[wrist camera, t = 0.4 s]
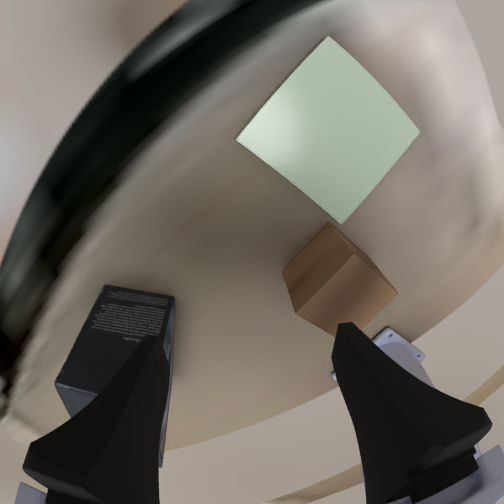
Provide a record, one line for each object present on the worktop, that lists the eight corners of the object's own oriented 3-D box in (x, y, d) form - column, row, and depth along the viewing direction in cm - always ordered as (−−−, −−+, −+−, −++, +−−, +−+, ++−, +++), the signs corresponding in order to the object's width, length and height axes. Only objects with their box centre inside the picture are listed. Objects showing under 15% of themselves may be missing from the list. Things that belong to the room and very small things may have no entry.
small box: (175, 378, 27) (165, 471, 17) (114, 367, 26) (89, 454, 16) (179, 295, 22) (157, 411, 13) (102, 282, 21) (47, 383, 12)
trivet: (413, 130, 17) (420, 131, 16) (337, 220, 20) (341, 224, 19) (324, 38, 14) (328, 35, 13) (235, 138, 17) (235, 139, 16)
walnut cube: (369, 257, 22) (398, 293, 17) (326, 301, 23) (345, 342, 19) (327, 221, 20) (354, 253, 16) (282, 271, 22) (295, 313, 17)
